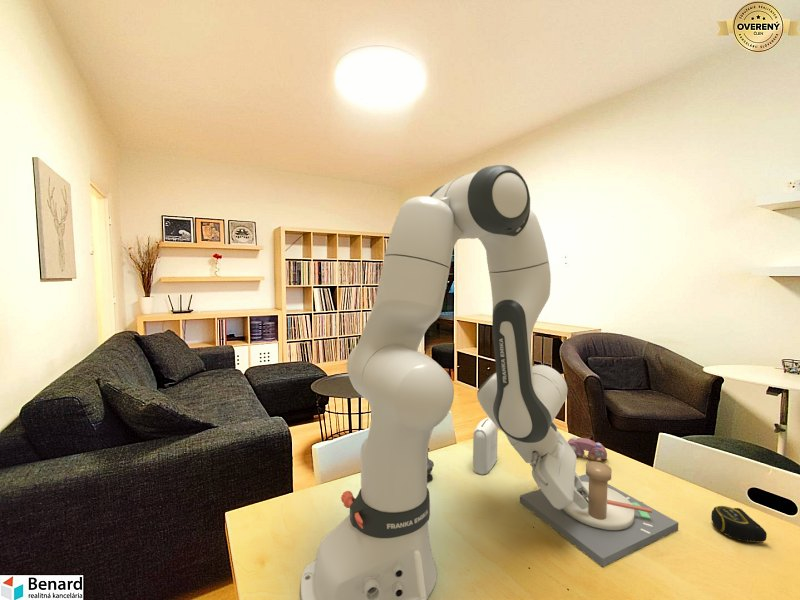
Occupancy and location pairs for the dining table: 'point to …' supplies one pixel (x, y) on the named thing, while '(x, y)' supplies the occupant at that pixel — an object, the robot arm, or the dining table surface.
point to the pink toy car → (588, 448)
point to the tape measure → (737, 524)
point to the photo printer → (484, 446)
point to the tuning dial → (603, 502)
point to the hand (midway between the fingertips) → (585, 501)
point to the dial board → (601, 541)
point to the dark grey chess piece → (429, 469)
